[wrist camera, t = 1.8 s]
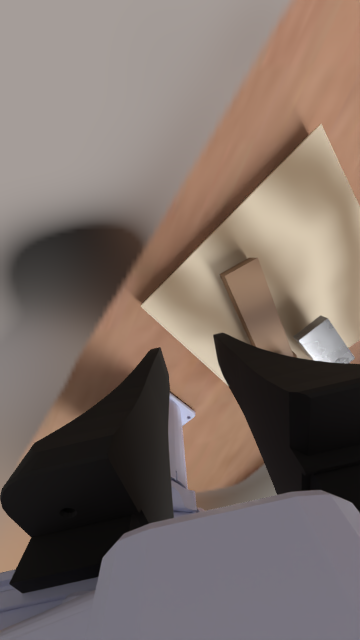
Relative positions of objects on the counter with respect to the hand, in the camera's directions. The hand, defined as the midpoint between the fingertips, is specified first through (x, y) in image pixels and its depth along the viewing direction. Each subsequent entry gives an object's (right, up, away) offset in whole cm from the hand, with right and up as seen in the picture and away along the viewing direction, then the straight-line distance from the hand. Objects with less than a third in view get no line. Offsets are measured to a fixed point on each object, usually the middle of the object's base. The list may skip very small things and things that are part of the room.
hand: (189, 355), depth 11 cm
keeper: (+13, 0, +9) cm, 16 cm away
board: (+10, +4, +8) cm, 13 cm away
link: (+7, +2, +7) cm, 11 cm away
